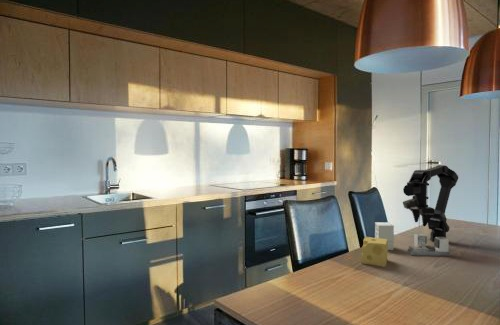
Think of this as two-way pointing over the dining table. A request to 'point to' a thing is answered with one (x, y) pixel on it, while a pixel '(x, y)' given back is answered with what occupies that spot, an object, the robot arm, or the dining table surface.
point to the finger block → (420, 240)
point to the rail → (439, 250)
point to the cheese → (374, 251)
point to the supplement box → (385, 233)
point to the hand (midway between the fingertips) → (420, 224)
